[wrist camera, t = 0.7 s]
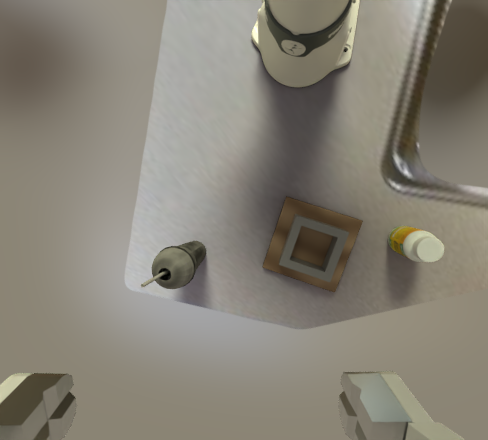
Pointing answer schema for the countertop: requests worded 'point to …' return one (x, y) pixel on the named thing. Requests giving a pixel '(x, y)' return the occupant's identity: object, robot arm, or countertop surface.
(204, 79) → the countertop surface
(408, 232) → the supplement bottle
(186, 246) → the beverage cup
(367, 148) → the countertop surface
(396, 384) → the robot arm
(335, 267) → the collar socket
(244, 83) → the countertop surface
